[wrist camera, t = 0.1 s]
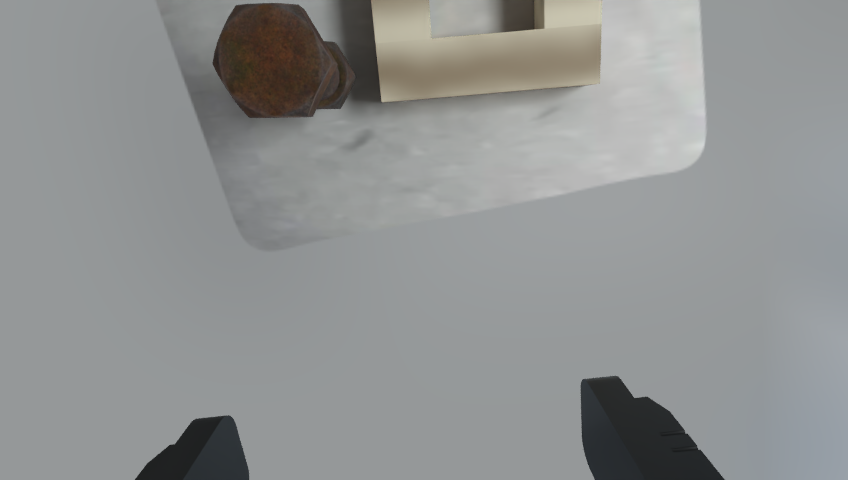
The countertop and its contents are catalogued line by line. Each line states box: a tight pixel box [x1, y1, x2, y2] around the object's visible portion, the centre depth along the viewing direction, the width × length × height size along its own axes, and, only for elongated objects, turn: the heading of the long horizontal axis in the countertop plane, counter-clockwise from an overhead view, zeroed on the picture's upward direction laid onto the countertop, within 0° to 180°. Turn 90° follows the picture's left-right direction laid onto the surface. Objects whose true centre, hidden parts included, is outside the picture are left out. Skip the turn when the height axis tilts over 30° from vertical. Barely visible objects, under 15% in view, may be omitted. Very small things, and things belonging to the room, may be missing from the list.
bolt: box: [213, 3, 356, 118], centre depth 28 cm, size 6×5×15 cm
